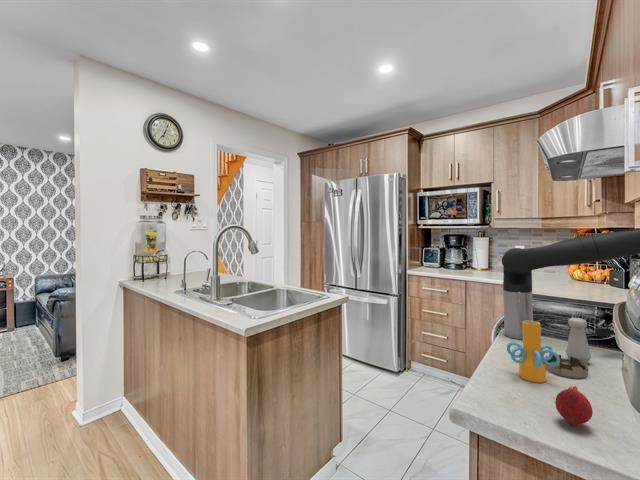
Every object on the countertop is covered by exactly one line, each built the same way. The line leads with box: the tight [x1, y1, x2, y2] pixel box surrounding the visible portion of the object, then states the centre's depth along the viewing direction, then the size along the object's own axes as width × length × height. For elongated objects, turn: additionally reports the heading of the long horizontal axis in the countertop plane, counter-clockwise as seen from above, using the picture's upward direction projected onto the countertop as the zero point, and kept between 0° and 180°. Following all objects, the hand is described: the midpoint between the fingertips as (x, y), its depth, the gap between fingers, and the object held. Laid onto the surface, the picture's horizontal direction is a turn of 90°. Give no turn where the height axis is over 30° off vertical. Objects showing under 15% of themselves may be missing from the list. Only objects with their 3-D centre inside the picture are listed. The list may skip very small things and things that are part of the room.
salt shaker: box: [565, 317, 592, 365], centre depth 92 cm, size 6×6×13 cm
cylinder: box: [506, 320, 560, 384], centre depth 83 cm, size 12×10×15 cm
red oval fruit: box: [554, 384, 593, 427], centre depth 62 cm, size 6×6×8 cm
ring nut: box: [544, 354, 589, 380], centre depth 86 cm, size 9×9×3 cm
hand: (606, 336), depth 91 cm, fingers open, 8 cm apart
